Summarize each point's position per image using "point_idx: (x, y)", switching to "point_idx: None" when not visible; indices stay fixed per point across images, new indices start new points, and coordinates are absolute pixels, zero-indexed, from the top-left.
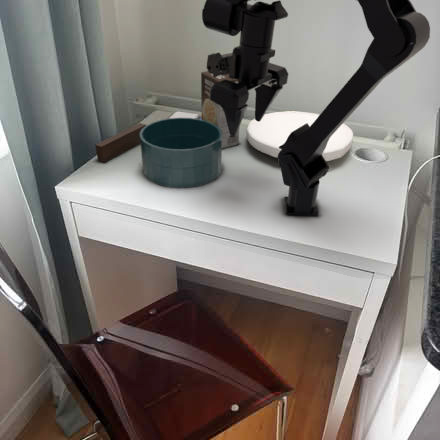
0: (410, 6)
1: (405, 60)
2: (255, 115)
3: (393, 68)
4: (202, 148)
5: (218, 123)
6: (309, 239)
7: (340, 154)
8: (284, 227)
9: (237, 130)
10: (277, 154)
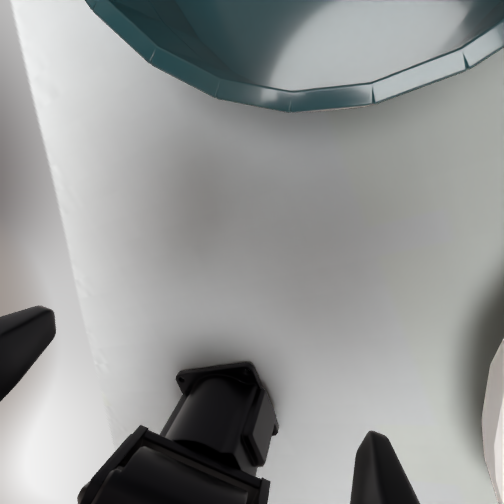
0: None
1: None
2: (374, 465)
3: None
4: (144, 58)
5: None
6: (119, 415)
7: None
8: (131, 370)
9: (20, 375)
10: (501, 350)
